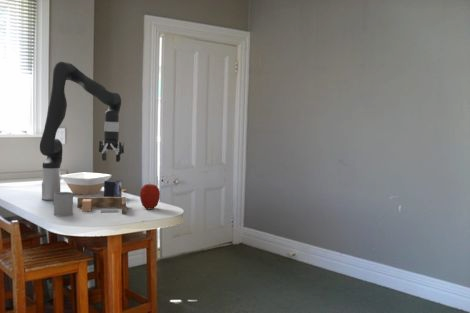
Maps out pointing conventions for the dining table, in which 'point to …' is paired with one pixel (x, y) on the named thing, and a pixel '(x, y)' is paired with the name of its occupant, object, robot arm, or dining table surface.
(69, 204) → the cup
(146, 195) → the apple
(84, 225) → the dining table surface
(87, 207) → the block
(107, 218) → the dining table surface
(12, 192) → the dining table surface
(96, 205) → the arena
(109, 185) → the small box
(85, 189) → the bowl
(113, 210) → the pad
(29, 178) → the dining table surface
